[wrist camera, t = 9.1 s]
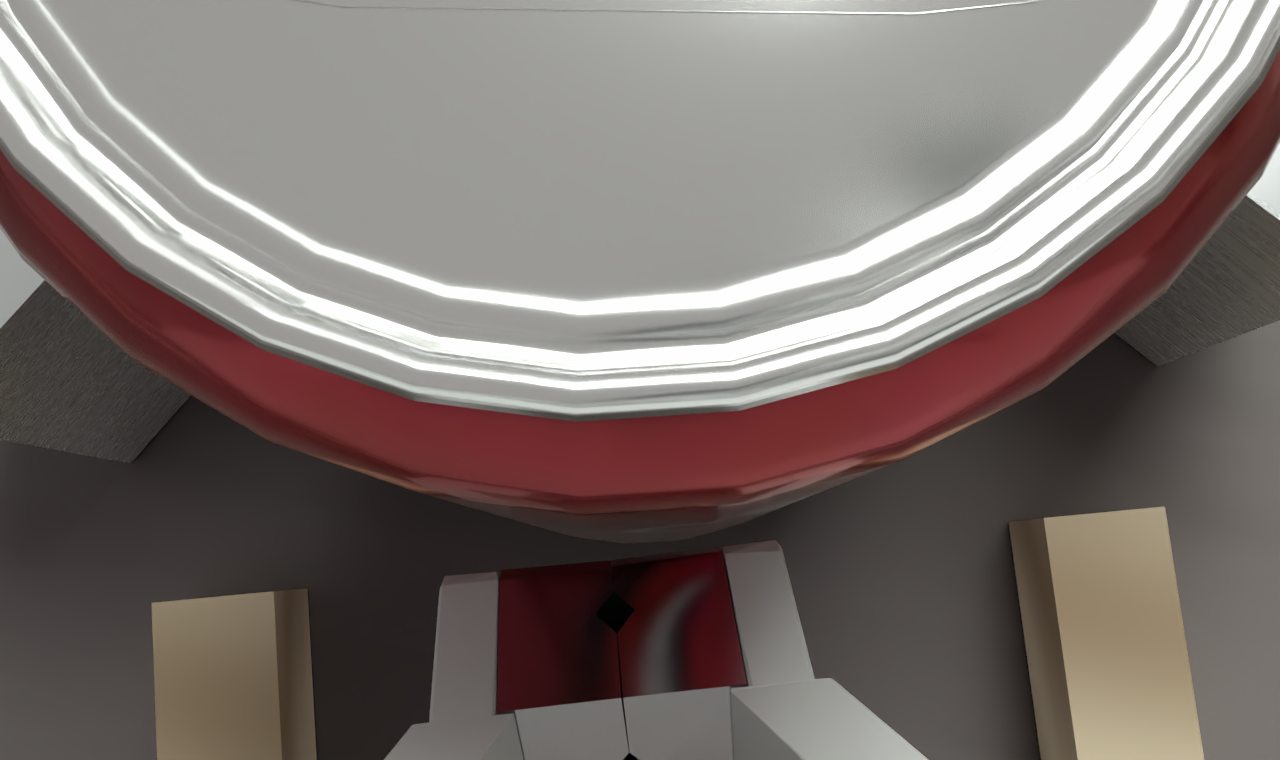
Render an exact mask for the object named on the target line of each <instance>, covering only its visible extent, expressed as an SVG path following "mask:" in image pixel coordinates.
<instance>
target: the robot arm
mask: <svg viewBox="0 0 1280 760" xmlns="http://www.w3.org/2000/svg"><path fill="white" fill-rule="evenodd" d="M384 760H928V759H927V758H926V757H925V756H924V755H922V754H921V753H920V752H919V751H918V750H917V749H915V748H914V747H913V746H912V745H911V744H909V743H908V742H907V741H906V740H905V739H904V738H902V737H901V736H900V735H899V734H898V733H896V732H895V731H894V730H893V729H892V728H891V727H889V726H888V725H887V724H886V723H885V722H883V721H882V720H881V719H880V718H879V717H878V716H876V715H875V714H874V713H873V712H872V711H870V710H869V709H868V708H867V707H866V706H865V705H863V704H862V703H861V702H860V701H859V700H857V699H856V698H855V697H854V696H853V695H852V694H850V693H849V692H848V691H847V690H846V689H844V688H843V687H842V686H841V685H840V684H839V683H837V682H836V681H835V680H834V679H833V678H823V679H815V678H814V674H813V670H812V666H811V662H810V658H809V654H808V650H807V646H806V642H805V638H804V634H803V630H802V626H801V622H800V618H799V614H798V610H797V606H796V602H795V598H794V594H793V590H792V586H791V582H790V578H789V574H788V570H787V566H786V562H785V558H784V554H783V550H782V547H781V546H780V544H779V543H778V542H777V541H776V540H770V541H762V542H753V543H745V544H737V545H729V546H722V548H721V549H720V548H719V547H715V548H707V549H699V550H690V551H682V552H673V553H665V554H657V555H648V556H640V557H631V558H623V559H615V560H612V565H611V561H600V562H589V563H577V564H565V565H554V566H542V567H530V568H519V569H507V570H501V572H488V573H476V574H463V575H450V576H445V577H444V579H443V582H442V584H441V587H440V590H439V602H438V615H437V627H436V640H435V653H434V665H433V678H432V691H431V703H430V716H429V722H428V723H421V724H413V725H411V727H410V728H409V729H408V730H407V732H406V733H405V734H404V735H403V736H402V738H401V739H400V740H399V741H398V743H397V744H396V745H395V746H394V748H393V749H392V750H391V751H390V752H389V754H388V755H387V756H386V757H385V759H384Z"/></svg>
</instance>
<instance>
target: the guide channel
mask: <svg viewBox="0 0 1280 760" xmlns="http://www.w3.org/2000/svg"><path fill="white" fill-rule="evenodd" d="M1009 529H1010V536H1011V544H1012V551H1013V558H1014V566H1015V573H1016V580H1017V588H1018V595H1019V602H1020V610H1021V617H1022V624H1023V631H1024V639H1025V646H1026V653H1027V661H1028V668H1029V675H1030V683H1031V690H1032V697H1033V705H1034V712H1035V719H1036V726H1037V734H1038V741H1039V748H1040V756H1041V760H1204V755H1203V749H1202V742H1201V736H1200V729H1199V723H1198V716H1197V710H1196V704H1195V697H1194V691H1193V684H1192V678H1191V671H1190V665H1189V659H1188V652H1187V646H1186V639H1185V633H1184V626H1183V620H1182V614H1181V607H1180V601H1179V594H1178V588H1177V581H1176V575H1175V569H1174V562H1173V556H1172V549H1171V543H1170V536H1169V530H1168V524H1167V517H1166V511H1165V507H1154V508H1143V509H1133V510H1122V511H1112V512H1101V513H1091V514H1080V515H1070V516H1059V517H1049V518H1039V519H1029V520H1019V521H1010V522H1009ZM152 630H153V658H154V686H155V714H156V742H157V760H317V755H316V737H315V718H314V700H313V681H312V663H311V644H310V626H309V607H308V589H307V588H305V589H294V590H282V591H271V592H260V593H250V594H239V595H229V596H218V597H208V598H197V599H187V600H176V601H166V602H155V603H152Z"/></svg>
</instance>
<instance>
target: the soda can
mask: <svg viewBox="0 0 1280 760" xmlns="http://www.w3.org/2000/svg"><path fill="white" fill-rule="evenodd" d="M1279 143H1280V0H0V229H1V230H2V232H3V233H4V234H5V236H6V237H7V239H8V240H9V241H10V243H11V244H12V246H13V247H14V248H15V250H16V251H17V253H18V254H19V256H20V257H21V258H22V260H23V261H25V262H26V263H27V264H28V265H29V266H30V267H31V268H32V269H33V270H34V271H35V272H37V273H38V274H39V275H40V276H41V277H42V278H43V279H44V280H45V281H46V282H48V283H49V284H50V285H51V286H52V287H53V288H54V289H55V290H56V291H57V292H58V293H60V294H61V295H62V296H63V297H64V298H65V299H66V300H67V301H68V302H69V303H70V304H72V305H73V306H74V307H75V308H76V309H77V310H78V311H79V312H80V313H81V314H82V315H84V316H85V317H86V318H87V319H88V320H89V321H90V322H91V323H92V324H93V325H95V326H96V327H97V328H98V329H99V330H100V331H101V332H102V333H103V334H104V335H105V336H107V337H108V338H109V339H110V340H111V341H112V342H113V343H114V344H115V345H116V346H117V347H119V348H120V349H121V350H122V351H123V352H124V353H125V354H126V355H127V356H128V357H130V358H131V359H132V360H133V361H134V362H135V363H137V364H139V365H141V366H142V367H144V368H146V369H147V370H149V371H151V372H152V373H154V374H156V375H157V376H159V377H161V378H163V379H164V380H166V381H168V382H169V383H171V384H173V385H174V386H176V387H178V388H179V389H181V390H183V391H185V392H186V393H188V394H190V395H191V396H193V397H195V398H196V399H198V400H200V401H201V402H203V403H205V404H207V405H208V406H210V407H212V408H213V409H215V410H217V411H218V412H220V413H222V414H224V415H225V416H227V417H229V418H230V419H232V420H234V421H235V422H237V423H239V424H240V425H242V426H244V427H246V428H247V429H249V430H251V431H252V432H254V433H256V434H257V435H259V436H261V437H262V438H264V439H266V440H268V441H270V442H273V443H276V444H278V445H281V446H284V447H287V448H290V449H293V450H296V451H299V452H302V453H305V454H308V455H311V456H313V457H316V458H319V459H322V460H325V461H328V462H331V463H334V464H337V465H340V466H343V467H346V468H348V469H351V470H354V471H357V472H360V473H363V474H366V475H369V476H372V477H375V478H378V479H381V480H383V481H386V482H389V483H392V484H395V485H398V486H401V487H404V488H407V489H410V490H413V491H416V492H418V493H422V494H425V495H429V496H432V497H436V498H439V499H443V500H446V501H450V502H453V503H457V504H460V505H464V506H467V507H471V508H474V509H478V510H481V511H485V512H488V513H492V514H495V515H499V516H503V517H506V518H510V519H513V520H517V521H520V522H524V523H527V524H531V525H534V526H538V527H541V528H545V529H548V530H552V531H555V532H559V533H562V534H566V535H569V536H573V537H580V538H588V539H595V540H603V541H610V542H618V543H626V544H631V543H646V542H661V541H676V540H685V539H688V538H692V537H696V536H699V535H703V534H707V533H710V532H714V531H718V530H722V529H725V528H729V527H733V526H736V525H739V524H741V523H744V522H746V521H749V520H751V519H754V518H756V517H759V516H761V515H764V514H766V513H769V512H772V511H774V510H777V509H779V508H782V507H784V506H787V505H789V504H792V503H794V502H797V501H799V500H802V499H805V498H807V497H810V496H812V495H815V494H817V493H820V492H822V491H825V490H827V489H830V488H832V487H835V486H837V485H840V484H843V483H845V482H848V481H850V480H853V479H855V478H858V477H860V476H863V475H865V474H868V473H870V472H873V471H876V470H878V469H881V468H883V467H886V466H888V465H891V464H893V463H896V462H898V461H901V460H903V459H905V458H907V457H909V456H911V455H913V454H915V453H917V452H919V451H921V450H923V449H925V448H927V447H929V446H931V445H933V444H935V443H937V442H939V441H941V440H943V439H945V438H947V437H949V436H951V435H953V434H955V433H957V432H959V431H961V430H963V429H965V428H967V427H969V426H971V425H973V424H975V423H977V422H979V421H981V420H983V419H985V418H987V417H989V416H991V415H993V414H995V413H997V412H999V411H1001V410H1003V409H1005V408H1007V407H1009V406H1011V405H1013V404H1015V403H1017V402H1019V401H1021V400H1023V399H1025V398H1027V397H1029V396H1031V395H1032V394H1034V393H1036V392H1038V391H1040V390H1042V389H1044V388H1045V387H1046V386H1048V385H1049V384H1050V383H1051V382H1053V381H1054V380H1055V379H1056V378H1058V377H1059V376H1060V375H1062V374H1063V373H1064V372H1065V371H1067V370H1068V369H1069V368H1070V367H1072V366H1073V365H1074V364H1075V363H1077V362H1078V361H1079V360H1081V359H1082V358H1083V357H1084V356H1086V355H1087V354H1088V353H1089V352H1091V351H1092V350H1093V349H1095V348H1096V347H1097V346H1098V345H1100V344H1101V343H1102V342H1103V341H1105V340H1106V339H1107V338H1108V337H1110V336H1111V335H1112V334H1114V333H1115V332H1116V331H1117V330H1119V329H1120V328H1121V327H1122V326H1124V325H1125V324H1126V323H1127V322H1129V321H1130V320H1131V319H1133V318H1134V317H1135V316H1136V315H1138V314H1139V313H1140V312H1141V311H1143V310H1144V309H1145V308H1147V307H1148V306H1149V305H1150V304H1152V303H1153V302H1154V301H1155V300H1157V299H1158V298H1159V297H1160V296H1162V295H1163V294H1164V293H1165V292H1166V291H1167V290H1168V289H1169V287H1170V286H1171V285H1172V284H1173V283H1174V281H1175V280H1176V279H1177V278H1178V277H1179V275H1180V274H1181V273H1182V272H1183V271H1184V269H1185V268H1186V267H1187V266H1188V265H1189V263H1190V262H1191V261H1192V260H1193V259H1194V257H1195V256H1196V255H1197V254H1198V253H1199V251H1200V250H1201V249H1202V248H1203V247H1204V245H1205V244H1206V243H1207V242H1208V241H1209V239H1210V238H1211V237H1212V236H1213V235H1214V233H1215V232H1216V231H1217V230H1218V229H1219V227H1220V226H1221V225H1222V224H1223V223H1224V221H1225V220H1226V219H1227V218H1228V217H1229V215H1230V214H1231V213H1232V212H1233V211H1234V209H1235V208H1236V207H1237V206H1238V205H1239V203H1240V202H1241V201H1242V200H1243V199H1244V197H1245V196H1246V195H1247V194H1248V193H1249V191H1250V190H1251V189H1252V188H1253V187H1254V185H1255V184H1256V183H1257V182H1258V181H1259V179H1260V178H1261V177H1262V175H1263V173H1264V172H1265V170H1266V168H1267V166H1268V164H1269V162H1270V160H1271V158H1272V156H1273V154H1274V152H1275V151H1276V149H1277V147H1278V145H1279Z"/></svg>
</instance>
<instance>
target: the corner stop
mask: <svg viewBox="0 0 1280 760" xmlns="http://www.w3.org/2000/svg"><path fill="white" fill-rule="evenodd" d="M1279 320H1280V143H1279V145H1278V147H1277V149H1276V151H1275V152H1274V154H1273V156H1272V158H1271V160H1270V162H1269V164H1268V166H1267V168H1266V170H1265V172H1264V173H1263V175H1262V177H1261V178H1260V179H1259V181H1258V182H1257V183H1256V184H1255V185H1254V187H1253V188H1252V189H1251V190H1250V191H1249V193H1248V194H1247V195H1246V196H1245V197H1244V199H1243V200H1242V201H1241V202H1240V203H1239V205H1238V206H1237V207H1236V208H1235V209H1234V211H1233V212H1232V213H1231V214H1230V215H1229V217H1228V218H1227V219H1226V220H1225V221H1224V223H1223V224H1222V225H1221V226H1220V227H1219V229H1218V230H1217V231H1216V232H1215V233H1214V235H1213V236H1212V237H1211V238H1210V239H1209V241H1208V242H1207V243H1206V244H1205V245H1204V247H1203V248H1202V249H1201V250H1200V251H1199V253H1198V254H1197V255H1196V256H1195V257H1194V259H1193V260H1192V261H1191V262H1190V263H1189V265H1188V266H1187V267H1186V268H1185V269H1184V271H1183V272H1182V273H1181V274H1180V275H1179V277H1178V278H1177V279H1176V280H1175V281H1174V283H1173V284H1172V285H1171V286H1170V287H1169V289H1168V290H1167V291H1166V292H1165V293H1164V294H1163V295H1162V296H1160V297H1159V298H1158V299H1157V300H1155V301H1154V302H1153V303H1152V304H1150V305H1149V306H1148V307H1147V308H1145V309H1144V310H1143V311H1141V312H1140V313H1139V314H1138V315H1136V316H1135V317H1134V318H1133V319H1131V320H1130V321H1129V322H1127V323H1126V324H1125V325H1124V326H1122V327H1121V328H1120V329H1119V330H1117V331H1116V332H1115V334H1116V335H1117V336H1119V337H1120V338H1121V339H1123V340H1124V341H1125V342H1126V343H1128V344H1129V345H1130V346H1132V347H1133V348H1134V349H1135V350H1137V351H1138V352H1139V353H1141V354H1142V355H1143V356H1144V357H1146V358H1147V359H1148V360H1150V361H1151V362H1152V363H1153V364H1155V365H1156V366H1160V365H1162V364H1165V363H1168V362H1170V361H1173V360H1176V359H1178V358H1181V357H1184V356H1186V355H1189V354H1192V353H1194V352H1197V351H1199V350H1202V349H1205V348H1207V347H1210V346H1213V345H1215V344H1218V343H1221V342H1223V341H1226V340H1228V339H1231V338H1234V337H1236V336H1239V335H1242V334H1244V333H1247V332H1250V331H1252V330H1255V329H1257V328H1260V327H1263V326H1265V325H1268V324H1271V323H1273V322H1276V321H1279ZM190 396H191V395H190V394H188V393H186V392H185V391H183V390H181V389H179V388H178V387H176V386H174V385H173V384H171V383H169V382H168V381H166V380H164V379H163V378H161V377H159V376H157V375H156V374H154V373H152V372H151V371H149V370H147V369H146V368H144V367H142V366H141V365H139V364H137V363H135V362H134V361H133V360H132V359H131V358H130V357H128V356H127V355H126V354H125V353H124V352H123V351H122V350H121V349H120V348H119V347H117V346H116V345H115V344H114V343H113V342H112V341H111V340H110V339H109V338H108V337H107V336H105V335H104V334H103V333H102V332H101V331H100V330H99V329H98V328H97V327H96V326H95V325H93V324H92V323H91V322H90V321H89V320H88V319H87V318H86V317H85V316H84V315H82V314H81V313H80V312H79V311H78V310H77V309H76V308H75V307H74V306H73V305H72V304H70V303H69V302H68V301H67V300H66V299H65V298H64V297H63V296H62V295H61V294H60V293H58V292H57V291H56V290H55V289H54V288H53V287H52V286H51V285H50V284H49V283H48V282H46V281H45V280H44V279H43V278H42V277H41V276H40V275H39V274H38V273H37V272H35V271H34V270H33V269H32V268H31V267H30V266H29V265H28V264H27V263H26V262H25V261H23V260H22V258H21V257H20V256H19V254H18V253H17V251H16V250H15V248H14V247H13V246H12V244H11V243H10V241H9V240H8V239H7V237H6V236H5V234H4V233H3V232H2V230H1V229H0V440H5V441H10V442H16V443H21V444H26V445H32V446H37V447H43V448H48V449H54V450H59V451H65V452H70V453H76V454H81V455H87V456H92V457H98V458H103V459H109V460H114V461H120V462H125V463H132V462H133V460H134V459H135V458H136V457H137V456H138V455H139V454H140V453H141V451H142V450H143V449H144V448H145V447H146V446H147V445H148V444H149V442H150V441H151V440H152V439H153V438H154V437H155V436H156V434H157V433H158V432H159V431H160V430H161V429H162V428H163V427H164V425H165V424H166V423H167V422H168V421H169V420H170V419H171V418H172V416H173V415H174V414H175V413H176V412H177V411H178V410H179V408H180V407H181V406H182V405H183V404H184V403H185V402H186V401H187V399H188V398H189V397H190Z"/></svg>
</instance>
